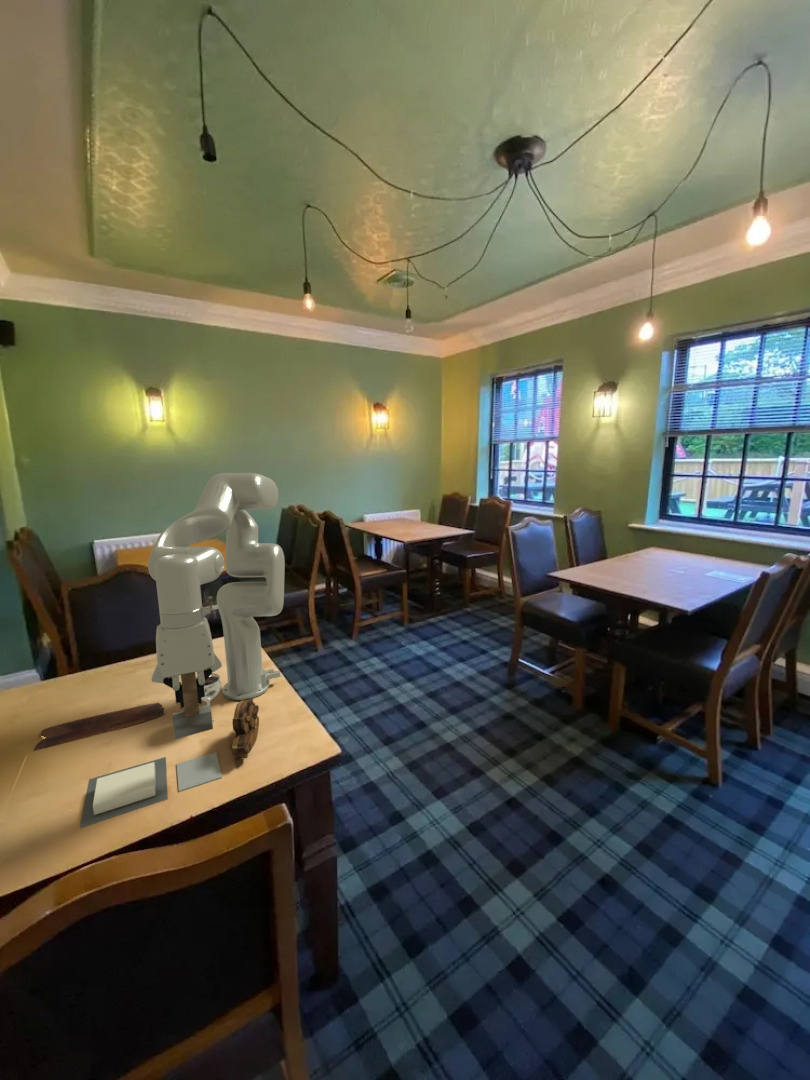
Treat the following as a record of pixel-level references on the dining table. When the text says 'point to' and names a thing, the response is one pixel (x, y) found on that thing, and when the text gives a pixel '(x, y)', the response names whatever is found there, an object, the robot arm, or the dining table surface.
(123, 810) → the rubber mat
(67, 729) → the wooden tablet
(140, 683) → the dining table surface
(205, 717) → the brown grey t-shaped piece
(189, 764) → the pad
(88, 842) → the dining table surface
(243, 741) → the wooden carving
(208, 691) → the wineglass
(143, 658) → the dining table surface
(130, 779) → the tile
